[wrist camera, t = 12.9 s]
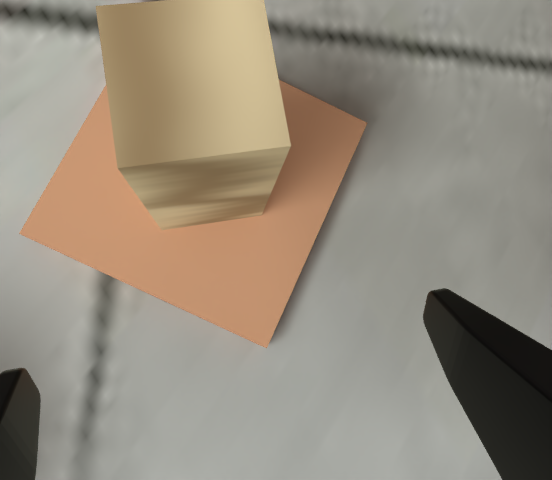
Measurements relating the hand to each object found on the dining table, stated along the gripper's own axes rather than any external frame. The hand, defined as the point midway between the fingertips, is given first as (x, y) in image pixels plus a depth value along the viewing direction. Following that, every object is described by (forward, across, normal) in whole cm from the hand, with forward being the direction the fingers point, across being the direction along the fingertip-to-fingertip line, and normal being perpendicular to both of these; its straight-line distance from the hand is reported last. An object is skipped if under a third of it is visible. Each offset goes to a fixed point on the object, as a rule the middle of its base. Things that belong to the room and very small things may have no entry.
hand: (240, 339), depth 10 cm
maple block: (+14, 0, +3) cm, 15 cm away
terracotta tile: (+15, 0, +4) cm, 16 cm away
